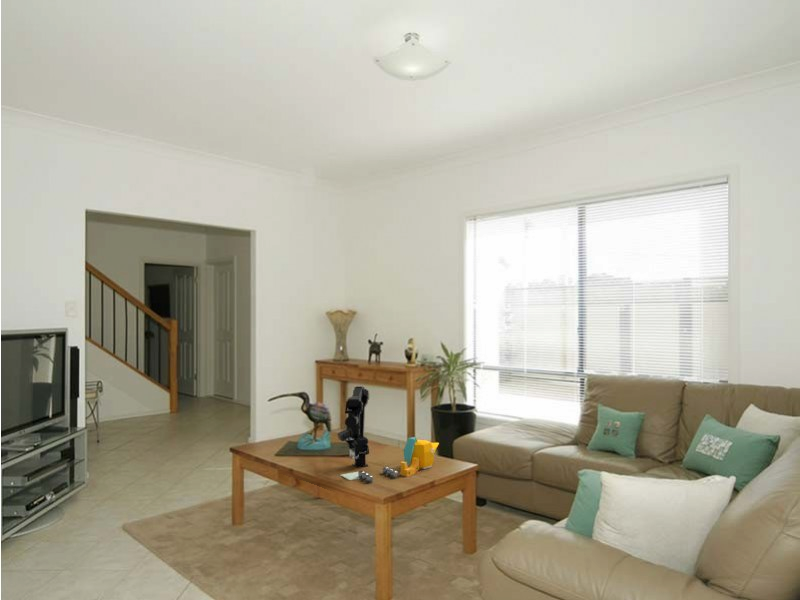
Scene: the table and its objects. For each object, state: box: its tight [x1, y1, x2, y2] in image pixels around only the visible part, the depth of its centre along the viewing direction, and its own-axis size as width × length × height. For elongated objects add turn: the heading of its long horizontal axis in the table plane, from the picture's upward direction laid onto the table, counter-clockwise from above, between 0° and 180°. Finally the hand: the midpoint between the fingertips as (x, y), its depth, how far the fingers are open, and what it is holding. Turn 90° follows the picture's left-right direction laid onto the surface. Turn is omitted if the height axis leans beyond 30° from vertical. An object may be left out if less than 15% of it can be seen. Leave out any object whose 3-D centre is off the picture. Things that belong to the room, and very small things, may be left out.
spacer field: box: [357, 466, 398, 484], centre depth 276 cm, size 11×17×3 cm, turn 122°
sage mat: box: [340, 471, 361, 482], centre depth 278 cm, size 10×10×1 cm
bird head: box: [403, 436, 440, 470], centre depth 299 cm, size 14×26×16 cm, turn 136°
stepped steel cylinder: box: [349, 448, 359, 460], centre depth 278 cm, size 4×4×4 cm
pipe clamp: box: [400, 458, 420, 477], centre depth 284 cm, size 12×4×6 cm, turn 142°
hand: (354, 455), depth 278 cm, fingers closed on stepped steel cylinder, 4 cm apart
